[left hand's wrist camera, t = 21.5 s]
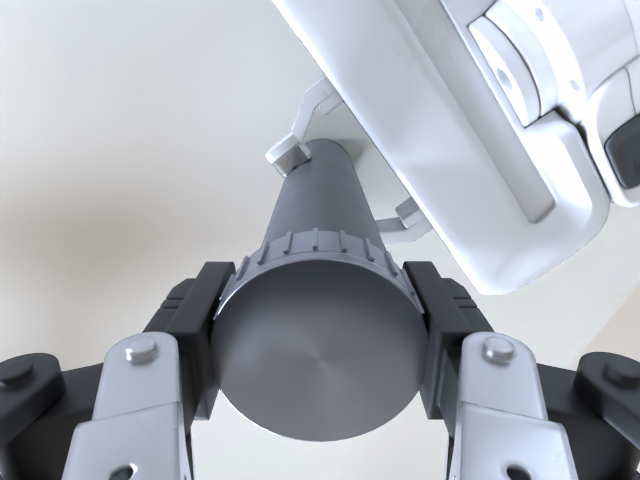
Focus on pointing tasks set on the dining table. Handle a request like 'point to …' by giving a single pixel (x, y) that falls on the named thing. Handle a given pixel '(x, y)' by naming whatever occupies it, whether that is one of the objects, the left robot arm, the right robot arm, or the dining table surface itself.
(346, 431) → the lid
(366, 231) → the grey cylinder
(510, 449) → the left robot arm
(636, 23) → the right robot arm
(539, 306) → the dining table surface
